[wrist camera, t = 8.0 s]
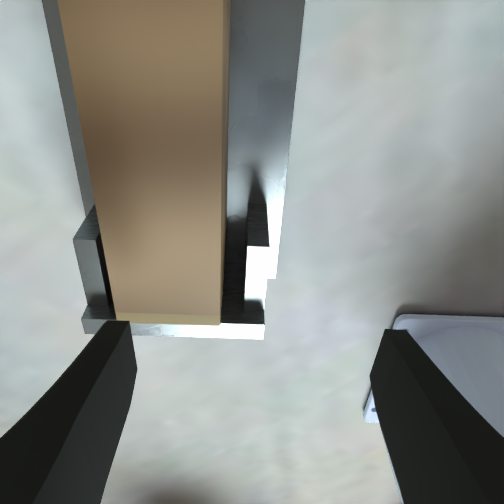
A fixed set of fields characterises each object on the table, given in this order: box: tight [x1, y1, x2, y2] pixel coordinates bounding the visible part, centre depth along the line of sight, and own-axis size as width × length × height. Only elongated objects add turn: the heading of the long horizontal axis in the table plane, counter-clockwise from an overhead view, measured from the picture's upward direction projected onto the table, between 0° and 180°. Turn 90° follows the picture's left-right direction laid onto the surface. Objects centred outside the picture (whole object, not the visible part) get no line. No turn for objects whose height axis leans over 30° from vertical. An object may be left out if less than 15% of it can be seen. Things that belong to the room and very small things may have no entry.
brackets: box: [42, 0, 305, 339], centre depth 14 cm, size 16×8×5 cm, turn 177°
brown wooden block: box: [57, 0, 231, 326], centre depth 13 cm, size 12×4×5 cm, turn 177°
